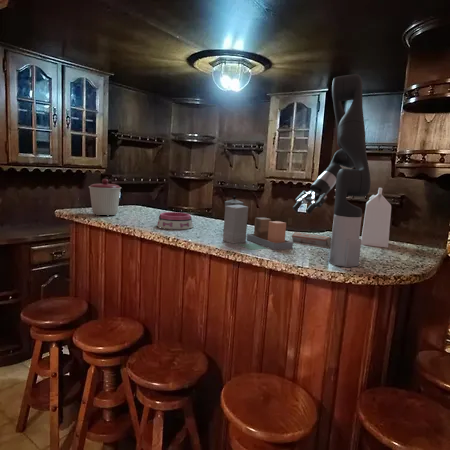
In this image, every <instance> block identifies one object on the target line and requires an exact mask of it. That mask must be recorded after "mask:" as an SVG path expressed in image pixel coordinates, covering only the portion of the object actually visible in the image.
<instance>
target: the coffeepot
mask: <svg viewBox="0 0 450 450" xmlns="http://www.w3.org/2000/svg"><path fill="white" fill-rule="evenodd" d="M236 198H237V196H236V195H233V196H232V199H228V200H226V201H224V207H225V206H230V205H243V206H244V203H245V202H243V201H242V200H241V201H240V200H238V199H236ZM222 232H223V233H224V228H223V230H222Z"/></svg>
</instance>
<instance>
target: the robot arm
mask: <svg viewBox="0 0 450 450" xmlns="http://www.w3.org/2000/svg"><path fill="white" fill-rule="evenodd" d="M331 97H332V102H333V112H334V116H335V117H334V118H335V124H336V138H337V146H338V148H340V149H338V150H336V152H334V154H333V157H332V159H331V161H330V163H329V165H328V166H327V167H326V169H324V170H323V172H322V173H321V174H320V175H318V177H317V178H316V179H315V180H314V181H313V183H312V184H311V185H310V188H309V189H310V190H308V191H306V190H302V192H300V194H299V195H298V196H297V197H296V198H295V201H296V203H295V204H294V205H293V206H292V209H293V211H294V212H297V211H298V210H299V209H300V208H301V206H302V205H304V204H307V203H310V204H309V206H308V207H307V208H306V209H305V212H306V214H307V215H309V214H311V213H313V211H314V209H316V208H322V206H323V205H324V203H325V202H326V201H327V200H328V198H329V197H328V196H327V195H328V194H329V193H330V191H331V190H332V189H333V188H334V187H335V193H334V194H335V195H334V196H335V197H334V210H333V211H334V212H333V218H332V220H333V221H332V222H333V223H332V227H331V228H332V231H331V247H329V248H330V249H329V260H328V262H329V264H331V265H335V266H338V267H339V266H340V267H344V268H352V267H358V266H360V265H359V264H360V256H361V255H360V254H361V249H362V248H361V247H362V244H361V238H360V234H361V225H362V216H363V209H362V208H361V207H359V206H356V205H354V204H352V203H350V202H349V201H348V200H347V199H348V198H347V197H366V196H368V194H369V193H370V191H371V185H372V183H371V182H372V181H371V174H370V167H369V161H368V157H367V144H366V126H365V119H364V106H363V80H362V76H361V75H359V74H347V75H340V76H336V77H333V80H332V85H331ZM343 101H344V102H347V101H352V103H351V104H350V107H349V108H348V109H347V111H346V112H345V110H344V108H343V105H342V102H343ZM342 167H345V168H342Z"/></svg>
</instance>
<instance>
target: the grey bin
mask: <svg viewBox="0 0 450 450" xmlns="http://www.w3.org/2000/svg"><path fill="white" fill-rule="evenodd" d="M246 240H247V241H249V242H253V244H257V245H259V246H262V247H265V248H267V249H271V250H274V251H277V250H287V249H290V250H291V249H293V246H294V245H293V244H294V243H293V242H290V241H288V239H285V242H284V243H273V242H270V241H267V240H264V239H262V238H259V237H256V236H254V233H246Z"/></svg>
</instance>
